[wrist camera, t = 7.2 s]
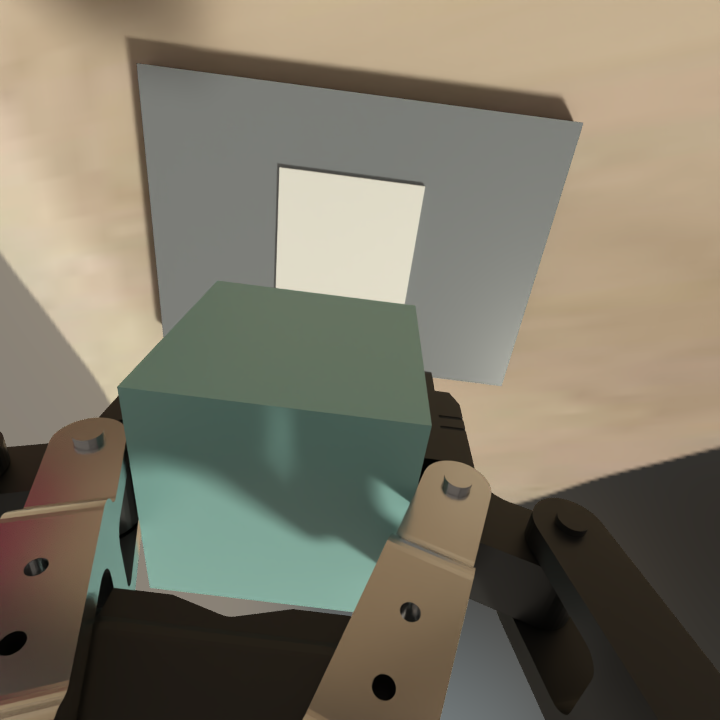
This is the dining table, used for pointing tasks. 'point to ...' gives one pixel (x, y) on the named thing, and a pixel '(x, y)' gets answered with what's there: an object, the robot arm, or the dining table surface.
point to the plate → (354, 203)
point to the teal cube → (276, 443)
